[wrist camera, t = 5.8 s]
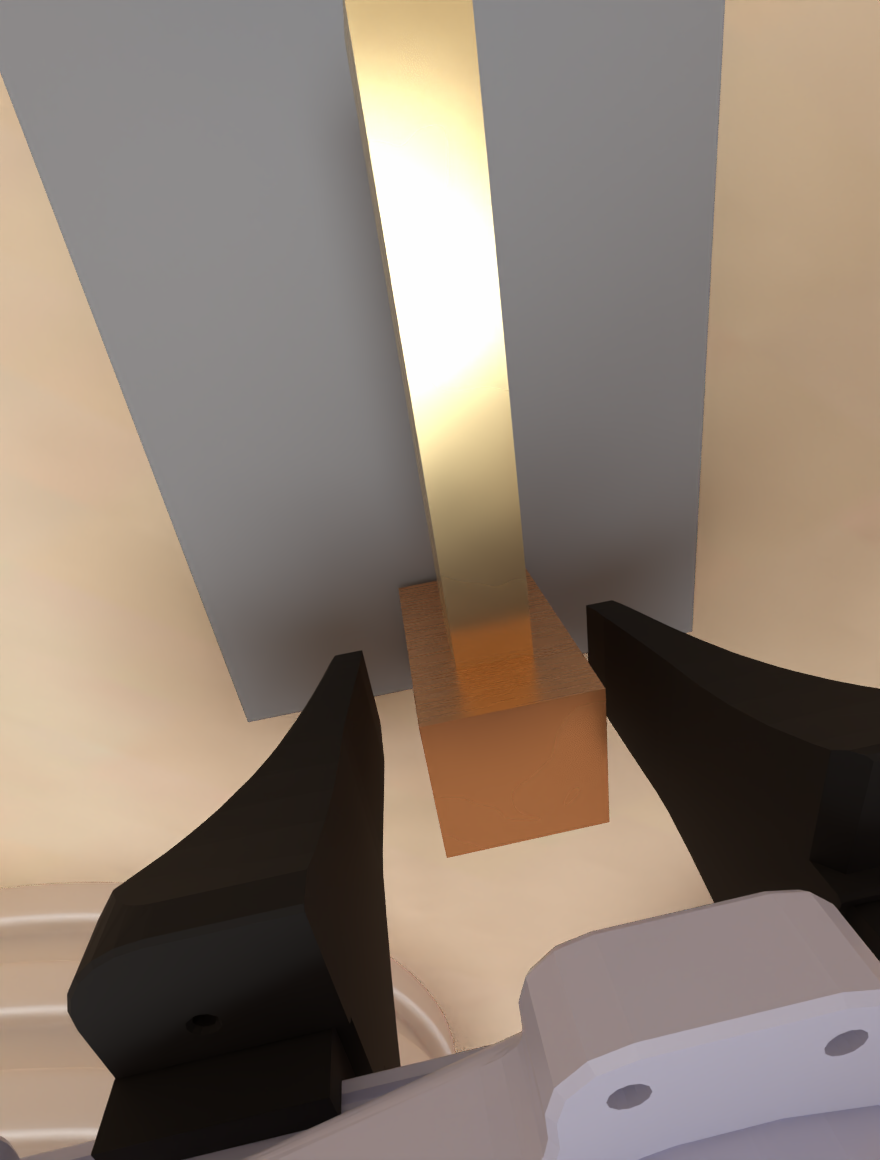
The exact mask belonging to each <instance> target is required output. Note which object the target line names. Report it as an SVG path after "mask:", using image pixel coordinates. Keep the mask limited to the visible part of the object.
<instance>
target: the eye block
mask: <svg viewBox="0 0 880 1160" xmlns="http://www.w3.org/2000/svg"><path fill="white" fill-rule="evenodd" d="M472 1H473V12H474V22H475V33H476V44H477V55H478V65H479V76H480V87H481V97H482V108H483V119H484V130H485V140H486V151H487V162H488V172H489V183H490V194H491V205H492V215H493V226H494V237H495V247H496V258H497V269H498V280H499V290H500V301H501V312H502V322H503V333H504V344H505V355H506V365H507V376H508V387H509V397H510V408H511V419H512V430H513V440H514V451H515V462H516V472H517V483H518V494H519V505H520V515H521V526H522V537H523V547H524V558H525V568H526V569H527V571H528V572H529V574H530V575H531V577H532V578H533V580H534V581H535V583H536V584H537V586H538V587H539V589H540V590H541V592H542V593H543V595H544V597H545V598H546V600H547V601H548V603H549V604H550V606H551V607H552V609H553V610H554V612H555V613H556V615H557V616H558V618H559V619H560V621H561V622H562V624H563V625H564V627H565V628H566V630H567V631H568V633H569V634H570V636H571V637H572V639H573V640H574V642H575V643H576V645H577V646H578V648H579V649H580V651H581V652H582V654H584V653H588V640H587V616H586V605H590V604H595V603H600V602H605V601H610V600H613V601H616V602H618V603H621V604H623V605H625V606H628V607H630V608H632V609H634V610H636V611H638V612H640V613H643V614H645V615H647V616H649V617H651V618H653V619H655V620H657V621H659V622H662V623H664V624H666V625H668V626H670V627H672V628H675V629H677V630H679V631H681V632H683V633H687V632H692V622H693V603H694V584H695V565H696V546H697V527H698V508H699V488H700V469H701V450H702V431H703V412H704V393H705V373H706V354H707V335H708V316H709V297H710V278H711V258H712V239H713V220H714V201H715V182H716V163H717V144H718V124H719V105H720V86H721V67H722V48H723V29H724V9H725V0H472ZM0 73H1V75H2V78H3V80H4V83H5V86H6V88H7V91H8V94H9V96H10V99H11V101H12V104H13V107H14V109H15V112H16V115H17V117H18V120H19V122H20V125H21V128H22V130H23V133H24V136H25V138H26V141H27V143H28V146H29V149H30V151H31V154H32V157H33V159H34V162H35V164H36V167H37V170H38V172H39V175H40V178H41V180H42V183H43V185H44V188H45V191H46V193H47V196H48V199H49V201H50V204H51V206H52V209H53V212H54V214H55V217H56V219H57V222H58V225H59V227H60V230H61V233H62V235H63V238H64V240H65V243H66V246H67V248H68V251H69V254H70V256H71V259H72V261H73V264H74V267H75V269H76V272H77V275H78V277H79V280H80V282H81V285H82V288H83V290H84V293H85V296H86V298H87V301H88V303H89V306H90V309H91V311H92V314H93V317H94V319H95V322H96V324H97V327H98V330H99V332H100V335H101V338H102V340H103V343H104V345H105V348H106V351H107V353H108V356H109V359H110V361H111V364H112V366H113V369H114V372H115V374H116V377H117V380H118V382H119V385H120V387H121V390H122V393H123V395H124V398H125V401H126V403H127V406H128V408H129V411H130V414H131V416H132V419H133V421H134V424H135V427H136V429H137V432H138V435H139V437H140V440H141V442H142V445H143V448H144V450H145V453H146V456H147V458H148V461H149V463H150V466H151V469H152V471H153V474H154V477H155V479H156V482H157V484H158V487H159V490H160V492H161V495H162V498H163V500H164V503H165V505H166V508H167V511H168V513H169V516H170V519H171V521H172V524H173V526H174V529H175V532H176V534H177V537H178V540H179V542H180V545H181V547H182V550H183V553H184V555H185V558H186V561H187V563H188V566H189V568H190V571H191V574H192V576H193V579H194V582H195V584H196V587H197V589H198V592H199V595H200V597H201V600H202V603H203V605H204V608H205V610H206V613H207V616H208V618H209V621H210V623H211V626H212V629H213V631H214V634H215V637H216V639H217V642H218V644H219V647H220V650H221V652H222V655H223V658H224V660H225V663H226V665H227V668H228V671H229V673H230V676H231V679H232V681H233V684H234V686H235V689H236V692H237V694H238V697H239V700H240V702H241V705H242V707H243V710H244V713H245V715H246V718H247V721H248V722H251V721H256V720H261V719H266V718H271V717H276V716H281V715H286V714H291V713H295V712H300V711H303V709H304V707H305V706H306V704H307V703H308V701H309V699H310V698H311V696H312V694H313V693H314V691H315V689H316V688H317V686H318V684H319V682H320V681H321V679H322V677H323V675H324V673H325V671H326V670H327V668H328V666H329V664H330V662H331V660H332V659H333V658H334V656H335V655H340V654H345V653H350V652H355V651H360V650H362V652H363V656H364V659H365V663H366V667H367V671H368V675H369V679H370V683H371V687H372V691H373V695H374V696H379V695H383V694H388V693H393V692H398V691H403V690H408V689H413V683H412V677H411V670H410V663H409V657H408V650H407V643H406V636H405V630H404V623H403V616H402V609H401V603H400V596H399V589H398V588H402V587H407V586H412V585H417V584H422V583H427V582H432V581H437V578H436V573H435V567H434V561H433V555H432V549H431V543H430V537H429V532H428V526H427V520H426V514H425V508H424V502H423V497H422V491H421V485H420V479H419V473H418V467H417V461H416V456H415V450H414V444H413V438H412V432H411V426H410V420H409V415H408V409H407V403H406V397H405V391H404V385H403V380H402V374H401V368H400V362H399V356H398V350H397V344H396V339H395V333H394V327H393V321H392V315H391V309H390V304H389V298H388V292H387V286H386V280H385V274H384V268H383V263H382V257H381V251H380V245H379V239H378V233H377V228H376V222H375V216H374V210H373V204H372V198H371V192H370V187H369V181H368V175H367V169H366V163H365V157H364V152H363V146H362V140H361V134H360V128H359V122H358V116H357V111H356V105H355V99H354V93H353V87H352V81H351V76H350V70H349V64H348V58H347V52H346V46H345V39H344V19H343V0H0Z"/></svg>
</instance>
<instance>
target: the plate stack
mask: <svg viewBox="0 0 880 1160" xmlns="http://www.w3.org/2000/svg"><path fill="white" fill-rule="evenodd" d="M121 884H122V882H74V883H51V884H38V885H26V886H17V887H7V888H0V1136H2V1137H4V1138H5V1139H6V1140H7V1141H8V1142H9V1143H11V1145H12V1146H13V1148H14V1149H15V1151H16V1152H17V1154H18V1156H19V1158H22V1157H26V1156H30V1155H34V1154H38V1153H42V1152H47V1151H51V1150H55V1149H59V1148H63V1147H67V1146H72V1145H76V1144H80V1143H84V1142H88V1141H92V1140H96V1136H97V1133H98V1130H99V1127H100V1124H101V1121H102V1118H103V1114H104V1111H105V1108H106V1105H107V1102H108V1099H109V1096H110V1092H111V1089H112V1086H113V1083H114V1080H115V1077H114V1076H113V1075H112V1074H111V1072H110V1071H109V1070H108V1069H107V1067H106V1066H105V1065H104V1064H103V1062H102V1061H101V1060H100V1058H99V1057H98V1056H97V1055H96V1053H95V1052H94V1051H93V1050H92V1048H91V1047H90V1046H89V1045H88V1043H87V1042H86V1041H85V1039H84V1038H83V1037H82V1036H81V1034H80V1033H79V1032H78V1030H77V1029H76V1027H75V1025H74V1023H73V1021H72V1019H71V1017H70V1015H69V1014H68V1012H67V993H68V990H69V988H70V986H71V983H72V981H73V978H74V976H75V974H76V971H77V969H78V967H79V964H80V962H81V959H82V957H83V955H84V952H85V950H86V948H87V945H88V943H89V940H90V938H91V936H92V933H93V931H94V928H95V926H96V924H97V921H98V919H99V917H100V915H101V913H102V911H103V909H104V907H105V905H106V903H107V901H108V899H109V897H110V895H111V893H112V891H113V889H115V888H116V887H118V886H119V885H121ZM390 963H391V974H392V984H393V995H394V1005H395V1015H396V1026H397V1036H398V1045H399V1054H400V1064H401V1066H405V1065H409V1064H413V1063H417V1062H422V1061H426V1060H430V1059H434V1058H438V1057H442V1056H447V1055H451V1054H455V1049H454V1043H453V1039H452V1035H451V1031H450V1029H449V1026H448V1023H447V1021H446V1019H445V1016H444V1015H443V1013H442V1011H441V1009H440V1007H439V1006H438V1004H437V1003H436V1001H435V1000H434V998H433V997H432V996H431V994H430V993H429V992H428V991H427V989H426V988H425V987H424V986H423V985H422V984H421V983H420V982H419V981H418V980H417V979H416V978H415V977H414V976H413V975H412V974H411V973H410V972H409V971H408V970H407V969H405V968H404V967H403V966H402V965H401V964H399V963H398V962H397V961H395V960H394V959H393V958H391V957H390Z"/></svg>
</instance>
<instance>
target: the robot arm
mask: <svg viewBox="0 0 880 1160" xmlns="http://www.w3.org/2000/svg"><path fill="white" fill-rule="evenodd" d="M586 616H587V640H588V663H589V664H590V666H591V667H592V669H593V670H594V672H595V673H596V675H597V677H598V678H599V680H600V681H601V683H602V684H603V686H604V687H605V689H606V716H607V717H608V719H609V720H610V722H611V724H612V725H613V727H614V728H615V730H616V731H617V733H618V734H619V736H620V737H621V739H622V740H623V742H624V744H625V745H626V747H627V748H628V750H629V751H630V753H631V754H632V756H633V757H634V759H635V760H636V762H637V763H638V765H639V766H640V768H641V769H642V771H643V772H644V774H645V775H646V777H647V778H648V780H649V781H650V783H651V784H652V786H653V787H654V789H655V790H656V792H657V793H658V795H659V797H660V798H661V800H662V802H663V803H664V805H665V807H666V808H667V810H668V812H669V814H670V816H671V818H672V820H673V822H674V823H675V825H676V827H677V829H678V831H679V833H680V835H681V837H682V839H683V841H684V843H685V845H686V847H687V849H688V850H689V852H690V854H691V856H692V858H693V861H694V863H695V865H696V867H697V869H698V871H699V873H700V875H701V877H702V879H703V881H704V883H705V885H706V887H707V889H708V891H709V893H710V895H711V897H712V899H713V901H714V903H712V904H708V905H704V906H700V907H695V908H691V909H687V910H682V911H678V912H674V913H669V914H665V915H661V916H656V917H652V918H648V919H643V920H639V921H635V922H630V923H626V924H622V925H617V926H613V927H609V928H604V929H600V930H596V931H592V932H589V933H586V934H584V935H581V936H579V937H577V938H574V939H572V940H569V941H567V942H564V943H562V944H559V945H557V946H555V947H554V948H553V949H552V950H550V951H549V952H548V953H547V954H546V955H545V956H544V957H543V958H542V959H541V960H540V961H538V962H537V963H536V964H535V965H534V966H533V967H532V968H531V969H530V970H529V972H528V974H527V975H526V977H525V981H524V984H523V988H522V991H521V995H520V999H519V1009H520V1015H521V1021H522V1032H519V1033H517V1034H515V1035H513V1036H511V1037H508V1038H506V1039H504V1040H502V1041H500V1042H498V1043H495V1044H492V1045H488V1046H484V1047H480V1048H476V1049H472V1050H467V1051H463V1052H459V1053H455V1054H451V1055H447V1056H442V1057H438V1058H434V1059H430V1060H426V1061H422V1062H417V1063H413V1064H409V1065H405V1066H401V1064H400V1054H399V1045H398V1036H397V1026H396V1015H395V1005H394V995H393V984H392V974H391V963H390V952H389V940H388V929H387V917H386V905H385V892H384V879H383V811H384V753H383V743H382V734H381V725H380V719H379V715H378V711H377V707H376V703H375V699H374V695H373V691H372V687H371V683H370V679H369V675H368V671H367V667H366V663H365V659H364V656H363V652H362V650H360V651H355V652H350V653H345V654H340V655H335V656H334V658H333V659H332V660H331V662H330V664H329V666H328V668H327V670H326V671H325V673H324V675H323V677H322V679H321V681H320V682H319V684H318V686H317V688H316V689H315V691H314V693H313V694H312V696H311V698H310V699H309V701H308V703H307V704H306V706H305V707H304V709H303V711H302V712H301V714H300V715H299V717H298V718H297V720H296V721H295V723H294V724H293V726H292V727H291V728H290V730H289V731H288V733H287V734H286V735H285V737H284V738H283V740H282V741H281V743H280V744H279V745H278V746H277V748H276V749H275V750H274V752H273V753H272V754H271V755H270V757H269V758H268V759H267V760H266V761H265V762H264V764H263V765H262V766H261V767H260V768H259V769H258V770H257V771H256V773H255V774H254V775H253V776H252V777H251V778H250V779H249V780H248V781H247V782H246V783H245V784H244V785H243V786H242V787H241V788H240V789H239V790H238V791H237V792H236V793H235V794H234V795H233V796H232V797H231V798H230V799H229V800H228V801H227V802H226V803H225V804H224V805H223V806H222V807H220V808H219V809H218V810H217V811H216V812H215V813H214V814H213V815H212V816H210V817H209V818H208V819H207V820H206V821H205V822H204V823H202V824H201V825H200V826H199V827H198V828H197V829H195V830H194V831H193V832H192V833H190V834H189V835H188V836H187V837H185V838H184V839H183V840H182V841H180V842H179V843H178V844H177V845H175V846H174V847H173V848H171V849H170V850H169V851H168V852H166V853H165V854H164V855H162V856H161V857H159V858H158V859H156V860H155V861H154V862H152V863H151V864H149V865H148V866H147V867H145V868H144V869H142V870H141V871H140V872H138V873H137V874H135V875H134V876H133V877H131V878H130V879H128V880H127V881H125V882H124V883H122V884H121V885H119V886H118V887H116V888H115V889H113V891H112V893H111V895H110V897H109V899H108V901H107V903H106V905H105V907H104V909H103V911H102V913H101V915H100V917H99V919H98V921H97V924H96V926H95V928H94V931H93V933H92V936H91V938H90V940H89V943H88V945H87V948H86V950H85V952H84V955H83V957H82V959H81V962H80V964H79V967H78V969H77V971H76V974H75V976H74V978H73V981H72V983H71V986H70V988H69V990H68V993H67V1012H68V1014H69V1015H70V1017H71V1019H72V1021H73V1023H74V1025H75V1027H76V1029H77V1030H78V1032H79V1033H80V1034H81V1036H82V1037H83V1038H84V1039H85V1041H86V1042H87V1043H88V1045H89V1046H90V1047H91V1048H92V1050H93V1051H94V1052H95V1053H96V1055H97V1056H98V1057H99V1058H100V1060H101V1061H102V1062H103V1064H104V1065H105V1066H106V1067H107V1069H108V1070H109V1071H110V1072H111V1074H112V1075H113V1076H114V1077H115V1080H114V1083H113V1086H112V1089H111V1092H110V1096H109V1099H108V1102H107V1105H106V1108H105V1111H104V1114H103V1118H102V1121H101V1124H100V1127H99V1130H98V1133H97V1136H96V1140H92V1141H88V1142H84V1143H80V1144H76V1145H72V1146H67V1147H63V1148H59V1149H55V1150H51V1151H47V1152H42V1153H38V1154H34V1155H30V1156H26V1157H22V1158H19V1156H18V1154H17V1152H16V1151H15V1149H14V1148H13V1146H12V1145H11V1143H9V1142H8V1141H7V1140H6V1139H5V1138H4V1137H2V1136H0V1160H880V689H878V688H872V687H865V686H860V685H854V684H849V683H844V682H839V681H834V680H829V679H825V678H821V677H816V676H812V675H808V674H804V673H799V672H795V671H792V670H788V669H784V668H780V667H777V666H774V665H770V664H767V663H764V662H761V661H757V660H754V659H751V658H748V657H745V656H742V655H739V654H736V653H733V652H730V651H728V650H725V649H723V648H720V647H717V646H715V645H712V644H710V643H707V642H705V641H702V640H700V639H697V638H695V637H693V636H690V635H688V634H686V633H683V632H681V631H679V630H677V629H675V628H672V627H670V626H668V625H666V624H664V623H662V622H659V621H657V620H655V619H653V618H651V617H649V616H647V615H645V614H643V613H640V612H638V611H636V610H634V609H632V608H630V607H628V606H625V605H623V604H621V603H618V602H616V601H613V600H610V601H605V602H600V603H595V604H590V605H586Z"/></svg>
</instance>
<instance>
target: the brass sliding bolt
mask: <svg viewBox="0 0 880 1160" xmlns="http://www.w3.org/2000/svg"><path fill="white" fill-rule="evenodd" d="M343 19H344V39H345V46H346V52H347V58H348V64H349V70H350V76H351V81H352V87H353V93H354V99H355V105H356V111H357V116H358V122H359V128H360V134H361V140H362V146H363V152H364V157H365V163H366V169H367V175H368V181H369V187H370V192H371V198H372V204H373V210H374V216H375V222H376V228H377V233H378V239H379V245H380V251H381V257H382V263H383V268H384V274H385V280H386V286H387V292H388V298H389V304H390V309H391V315H392V321H393V327H394V333H395V339H396V344H397V350H398V356H399V362H400V368H401V374H402V380H403V385H404V391H405V397H406V403H407V409H408V415H409V420H410V426H411V432H412V438H413V444H414V450H415V456H416V461H417V467H418V473H419V479H420V485H421V491H422V497H423V502H424V508H425V514H426V520H427V526H428V532H429V537H430V543H431V549H432V555H433V561H434V567H435V573H436V578H437V581H432V582H427V583H422V584H417V585H412V586H407V587H402V588H398V589H399V596H400V603H401V609H402V616H403V623H404V630H405V636H406V643H407V650H408V657H409V663H410V670H411V677H412V683H413V690H414V697H415V704H416V710H417V717H418V724H419V730H420V734H421V739H422V744H423V748H424V753H425V758H426V762H427V767H428V772H429V776H430V781H431V786H432V790H433V795H434V800H435V805H436V809H437V814H438V819H439V823H440V828H441V833H442V837H443V842H444V847H445V851H446V856H447V858H448V857H453V856H457V855H462V854H466V853H471V852H476V851H480V850H485V849H489V848H494V847H498V846H503V845H507V844H512V843H516V842H521V841H525V840H530V839H534V838H539V837H543V836H548V835H552V834H557V833H561V832H566V831H570V830H575V829H579V828H584V827H589V826H593V825H598V824H602V823H607V822H609V795H608V759H607V722H606V689H605V687H604V686H603V684H602V683H601V681H600V680H599V678H598V677H597V675H596V673H595V672H594V670H593V669H592V667H591V666H590V664H589V663H588V661H587V660H586V658H585V657H584V655H583V654H582V652H581V651H580V649H579V648H578V646H577V645H576V643H575V642H574V640H573V639H572V637H571V636H570V634H569V633H568V631H567V630H566V628H565V627H564V625H563V624H562V622H561V621H560V619H559V618H558V616H557V615H556V613H555V612H554V610H553V609H552V607H551V606H550V604H549V603H548V601H547V600H546V598H545V597H544V595H543V593H542V592H541V590H540V589H539V587H538V586H537V584H536V583H535V581H534V580H533V578H532V577H531V575H530V574H529V572H528V571H527V569H526V568H525V558H524V547H523V537H522V526H521V515H520V505H519V494H518V483H517V472H516V462H515V451H514V440H513V430H512V419H511V408H510V397H509V387H508V376H507V365H506V355H505V344H504V333H503V322H502V312H501V301H500V290H499V280H498V269H497V258H496V247H495V237H494V226H493V215H492V205H491V194H490V183H489V172H488V162H487V151H486V140H485V130H484V119H483V108H482V97H481V87H480V76H479V65H478V55H477V44H476V33H475V22H474V12H473V1H472V0H343Z"/></svg>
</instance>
